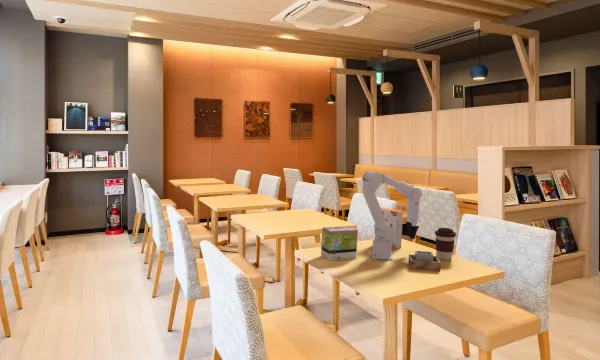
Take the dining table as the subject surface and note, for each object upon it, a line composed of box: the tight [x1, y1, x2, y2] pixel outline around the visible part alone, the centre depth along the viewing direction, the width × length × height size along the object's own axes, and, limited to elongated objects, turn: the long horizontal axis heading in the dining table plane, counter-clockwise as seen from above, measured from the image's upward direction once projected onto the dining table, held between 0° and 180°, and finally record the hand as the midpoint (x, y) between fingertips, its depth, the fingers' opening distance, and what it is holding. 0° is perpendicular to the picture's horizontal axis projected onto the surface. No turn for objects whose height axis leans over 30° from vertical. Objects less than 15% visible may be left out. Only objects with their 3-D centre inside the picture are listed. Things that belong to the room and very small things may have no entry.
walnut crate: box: [408, 253, 441, 272], centre depth 193 cm, size 13×10×4 cm
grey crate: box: [414, 250, 434, 262], centre depth 193 cm, size 8×5×6 cm, turn 81°
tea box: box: [320, 225, 359, 262], centre depth 205 cm, size 15×10×15 cm
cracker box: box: [374, 206, 404, 250], centre depth 228 cm, size 14×6×21 cm, turn 43°
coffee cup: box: [434, 227, 457, 261], centre depth 207 cm, size 10×10×15 cm
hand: (411, 237), depth 212 cm, fingers open, 7 cm apart
